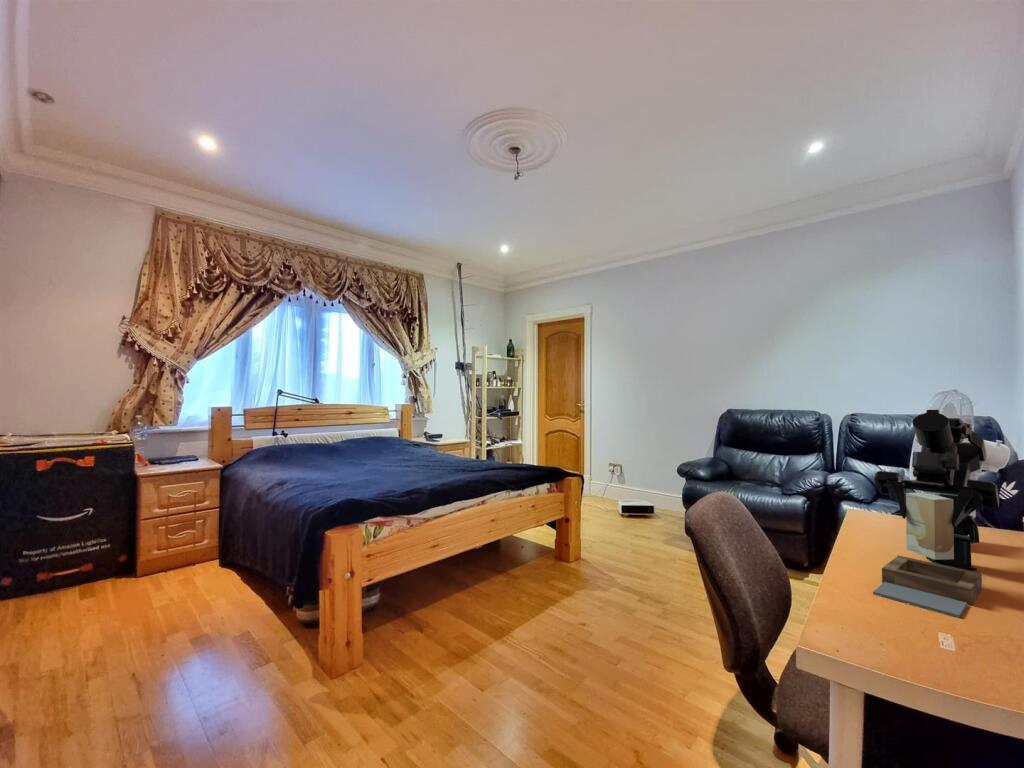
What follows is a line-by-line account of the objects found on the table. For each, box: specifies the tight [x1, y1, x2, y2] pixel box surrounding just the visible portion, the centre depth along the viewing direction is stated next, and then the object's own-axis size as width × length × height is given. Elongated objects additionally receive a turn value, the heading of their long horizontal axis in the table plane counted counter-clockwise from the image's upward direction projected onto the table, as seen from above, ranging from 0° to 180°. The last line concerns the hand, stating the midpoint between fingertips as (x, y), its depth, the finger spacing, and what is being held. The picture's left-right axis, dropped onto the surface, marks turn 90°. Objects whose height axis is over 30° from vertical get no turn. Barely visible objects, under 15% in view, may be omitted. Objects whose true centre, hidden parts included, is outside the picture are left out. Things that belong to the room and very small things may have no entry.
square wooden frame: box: [881, 555, 983, 607], centre depth 91 cm, size 13×13×3 cm
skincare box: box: [905, 492, 954, 560], centre depth 91 cm, size 6×4×12 cm
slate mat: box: [872, 582, 968, 619], centre depth 84 cm, size 8×12×1 cm, turn 37°
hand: (927, 521), depth 90 cm, fingers closed on skincare box, 7 cm apart
